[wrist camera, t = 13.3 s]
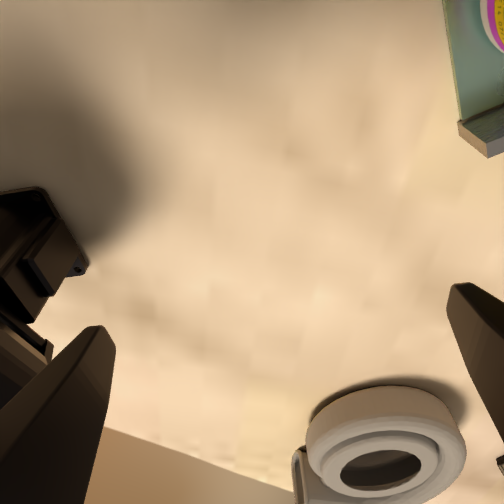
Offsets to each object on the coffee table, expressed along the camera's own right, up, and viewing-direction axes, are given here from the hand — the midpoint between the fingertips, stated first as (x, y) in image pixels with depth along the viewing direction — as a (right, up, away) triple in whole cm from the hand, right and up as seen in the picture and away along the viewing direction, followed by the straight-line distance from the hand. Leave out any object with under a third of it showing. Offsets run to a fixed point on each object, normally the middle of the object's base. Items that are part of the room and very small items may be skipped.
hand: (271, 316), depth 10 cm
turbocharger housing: (+12, -17, +30) cm, 36 cm away
